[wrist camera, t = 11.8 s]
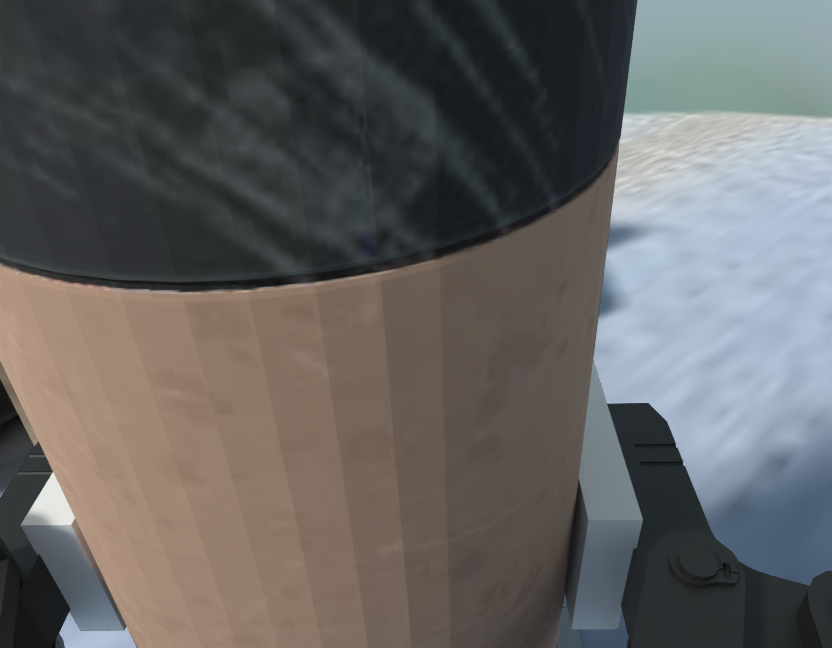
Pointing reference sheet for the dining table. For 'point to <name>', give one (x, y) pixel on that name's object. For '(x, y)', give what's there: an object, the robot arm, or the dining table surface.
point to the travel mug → (312, 304)
